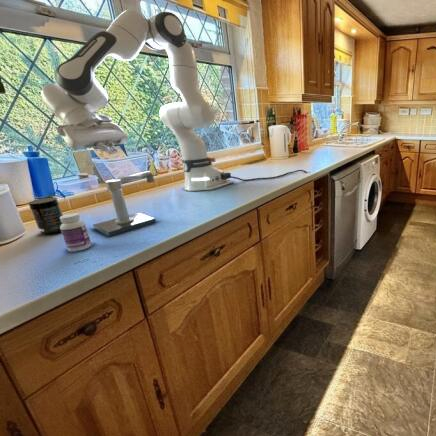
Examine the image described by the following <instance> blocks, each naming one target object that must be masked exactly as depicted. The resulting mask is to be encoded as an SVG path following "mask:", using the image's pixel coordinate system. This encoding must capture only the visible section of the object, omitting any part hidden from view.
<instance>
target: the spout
mask: <svg viewBox="0 0 436 436" xmlns="http://www.w3.org/2000/svg"><path fill="white" fill-rule="evenodd" d="M143 179H146V182H147V183H148V184H150V183H151V184H152V183H154V182H155V177H154V174H153V172H152V171H151V170H147V171H143V172H139V173H135V174H131V175H127V176H126V175H125V176H123V177H119V178H114V179H108V180H106V181H105V185H106V190H107V191H108V192H110V191H114V190H120V189H122V190H123V185H124V184H129V183H133V182H135V181H139V180H143Z"/></svg>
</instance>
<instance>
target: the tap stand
mask: <svg viewBox="0 0 436 436" xmlns="http://www.w3.org/2000/svg"><path fill="white" fill-rule="evenodd" d="M109 193H110V198H111V201H112V204H113V207H114V212H115V215H116V217H117V218H112V219H109V220H105V221H102V222H99V223H93V224H92V226H93V229H94V230H96V231H97V232H100V233H102V234H103V235H106V236H108V237H112V236H115V235H118V234H122V233H125V232H129V231H132V230H136V229H138V228H142V227H146V226H149V225H152V224H154V223H156V222H157V221H156V218H155V217H152V216H149V215H147V214H144V213H141V212H135V213H131V214H129V211H128V208H127V204H126V200H125V197H124V193H123V188H122V189H120V190H114V191H109Z"/></svg>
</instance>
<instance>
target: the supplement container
mask: <svg viewBox="0 0 436 436" xmlns="http://www.w3.org/2000/svg"><path fill="white" fill-rule="evenodd" d="M28 206H29V208H30V211H31V213H32V216H33V218H34V221H35V224H36V226H37V228H38V231H39V233H40V234H41V235H43V236H51V235H57V234H60V233H62V232H61V229H60V226H61V224H63V223H62V222H61V220H60V217H61V216H63V215H64V213H63V212H62V209H61V206H60V202H59V201H58V198H57V197H46V198H44V197H43V198H39V199H35V200H32V201H28Z"/></svg>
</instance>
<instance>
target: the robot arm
mask: <svg viewBox="0 0 436 436" xmlns="http://www.w3.org/2000/svg"><path fill="white" fill-rule="evenodd" d="M144 46H146V47H147V48H149V49H150V50H154V51H163V50H165V52H166V54H167V56H168V59H169V75H170V86H171V88H172V89H173V90H174V91H176V92H177V93H179V94H180V96H181V99H182V102H170V103H167V104H164V105H162V106H160V109H159V119H160V121H161V123H162V124H163V125H164V126H165V127H167V128H168V129H170V131H171V133H172V134H173V135H174V136H175V138H176V140H177V143H178V146H179V150H180V154H181V164H182V170H183V172H184V190H185V191H189V192H190V191H191V192H197V191H211V190H215V189H218V188H222V187H224V186H227V185H229V184H232V180H231V179H236V180H239V181H241V182H242V181H243V182H250V181H257V180H272V179H277V178H281V177H284V176H286V175H289V174H293V173H297V172H298V173H299V172H304V173H306V174H307V173H308V171H306V170H304V169H297V170H294V171H289V172H286V173H283V174H280V175H276V176H270V177H269V176H268V177H256V178H248V179H245V178H240V177H237V176H232V175H231V172H225V171H224V170H222V169H221V168H219V167H217V166H215V165H214V164H213V163H215V162H216V158H215V157H209V156H208V153H207V147H206V142H205V140H204V139H203V138H202V137H201V136H199V135H198V134H197V133H196V132H195V130H194V129H199V128H200V129H201V128H202V129H203V128H206V127H209V126H212V125H213V124H214V122H215V119H216V114H215V110H214V107H212V106H211V105H210V104H209V103H208V101H206V100H205V98H204V97H203V95H202V93H201V89H200V85H199V73H198V63H197V58H196V53H195V49H194V47H193V45H191V44H190V43H189V42H187V34H186V33H185V27H184V24H183V23H182V21H181V19H180V17H178V15H176V14H175V13H173V12H171V11H161V12H158V13H157V14H154V15H153V16H151V17H149V18H145V16H143V14H141V13H139V12H138V11H136V10H134V9H125V10H124V11H122V12H121V13H120V14H119V15H118V16H116V18H115V19H114V20H113V21H112V22H111V24H110V25H109V26H108V28H107V29H106V30H101V31H97V32H96V33H95V34H93V36H91V37H90V39H88V40H87V41H86V42H85V43H84V44H83V45H82V46H81V47H80V49H78V50H77V51H76V52H75V54H73V55H72V56H71V57H70V58H68V59H67V60H65V61H63V62H61V63H60V64H59V65H57V67H56V69H55V72H54V79H55V82H50V83H47V84H45V85H44V86H43V87H42V89H41V91H40V98H41V100H42V102H43V104H44V105H45V106H46V107H47V108H48V110H50V112H51V113H53V115H55V116H56V117H57V118H58V119H60V120H61V121H62V123H63V125H62V124H61V125H60V124H59V125H57V126H56V127H55V132H56V133H58V134H59V135H60V136H61V138H62V139H63V141H64V142H65V143H66V145H67V147H69V148H71V149H73V150H85V149H93V148H97V149H98V150H101V151H103V152H105V153H106V154H107V155H109V156H110V155H115V154H117V153H118V152H119V151H118V149H117V148H116V147H115V146H116V145H124V144H126V143H127V141H128V139H129V136H128V134H127V133H126V131H125V130H123V128H121V126H119V124H117V123H115V122H113V118H111V117H110V116H108V115H104V114H99V113H96V112H98V111H99V110H102V109H104V107H106V106H107V105H108V102H109V95H108V93H107V91H106V90H105V89H104V87H103V86H102V85H101V83H100V82H99V81H98V80H97V79H96V77H95V70H96V69H97V68H98V67H99V66H100V65H101V63H103V61H104V60H105V59H106V58H107V57H108V56H111V57H112V58H114V59H116V60H119V61H122V62H123V61H124V62H130V61H133V60H134V59H136V57H137V56H138V55H139V54H140V52H141V50H142V49H143V47H144ZM310 210H312V212H311V229H312V232H314V212H313V211H314V210H313V200H311V201H310Z"/></svg>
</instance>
